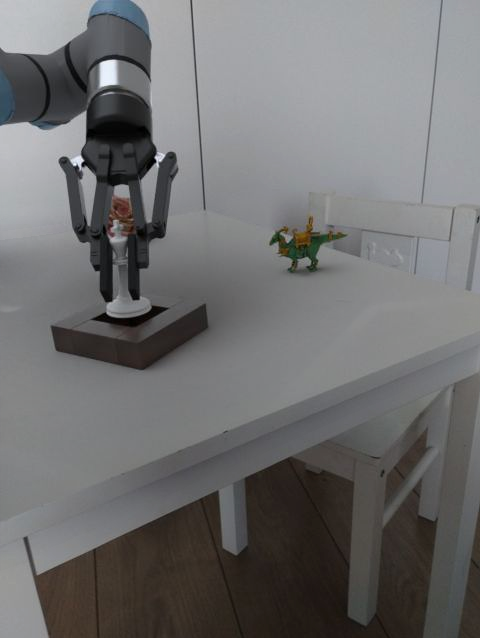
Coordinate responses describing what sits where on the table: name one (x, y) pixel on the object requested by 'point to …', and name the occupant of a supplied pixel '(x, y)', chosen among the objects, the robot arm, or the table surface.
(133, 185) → the robot arm
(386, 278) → the table surface
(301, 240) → the figurine
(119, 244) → the chess piece
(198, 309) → the hollow square frame
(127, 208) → the flower
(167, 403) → the table surface
